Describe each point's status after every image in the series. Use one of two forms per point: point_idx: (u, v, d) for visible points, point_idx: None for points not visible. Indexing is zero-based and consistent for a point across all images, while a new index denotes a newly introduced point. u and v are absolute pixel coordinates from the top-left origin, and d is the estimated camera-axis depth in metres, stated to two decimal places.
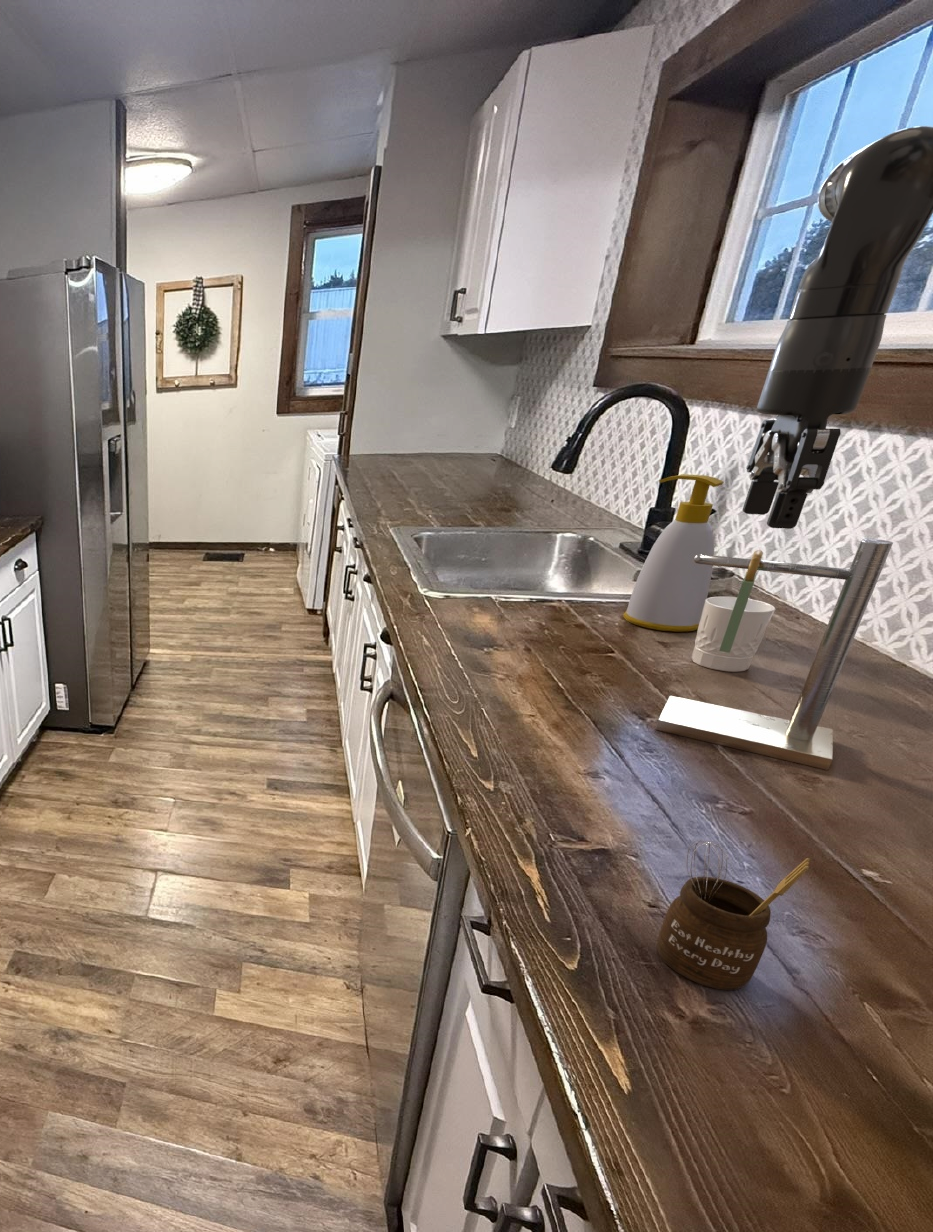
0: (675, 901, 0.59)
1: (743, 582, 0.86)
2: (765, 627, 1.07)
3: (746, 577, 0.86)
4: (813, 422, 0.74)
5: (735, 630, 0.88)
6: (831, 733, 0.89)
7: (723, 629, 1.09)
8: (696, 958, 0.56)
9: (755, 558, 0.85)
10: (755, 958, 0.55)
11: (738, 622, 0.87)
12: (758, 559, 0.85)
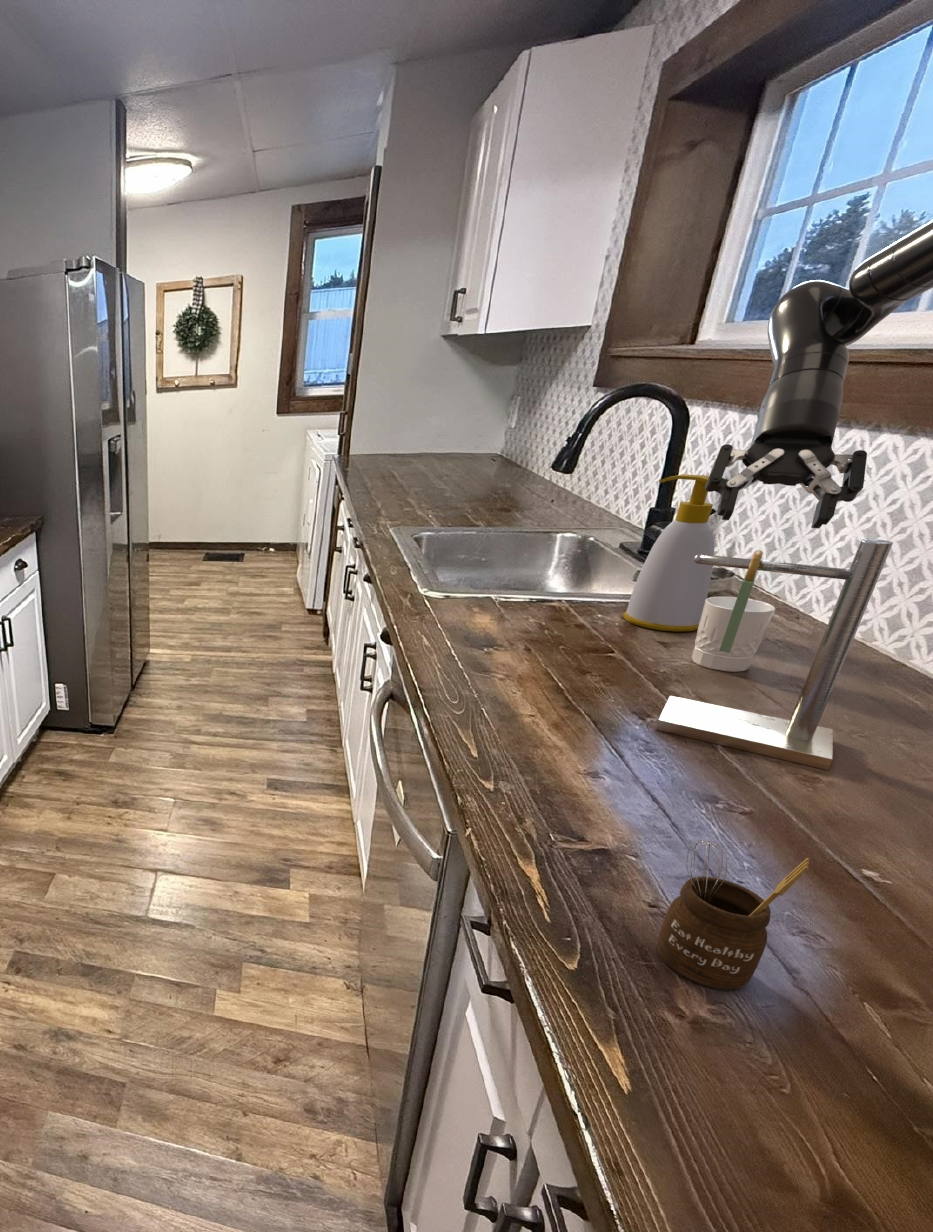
0: (675, 901, 0.59)
1: (743, 582, 0.86)
2: (765, 627, 1.07)
3: (746, 577, 0.86)
4: None
5: (735, 630, 0.88)
6: (831, 733, 0.89)
7: (723, 629, 1.09)
8: (696, 958, 0.56)
9: (755, 558, 0.85)
10: (755, 958, 0.55)
11: (738, 622, 0.87)
12: (758, 559, 0.85)
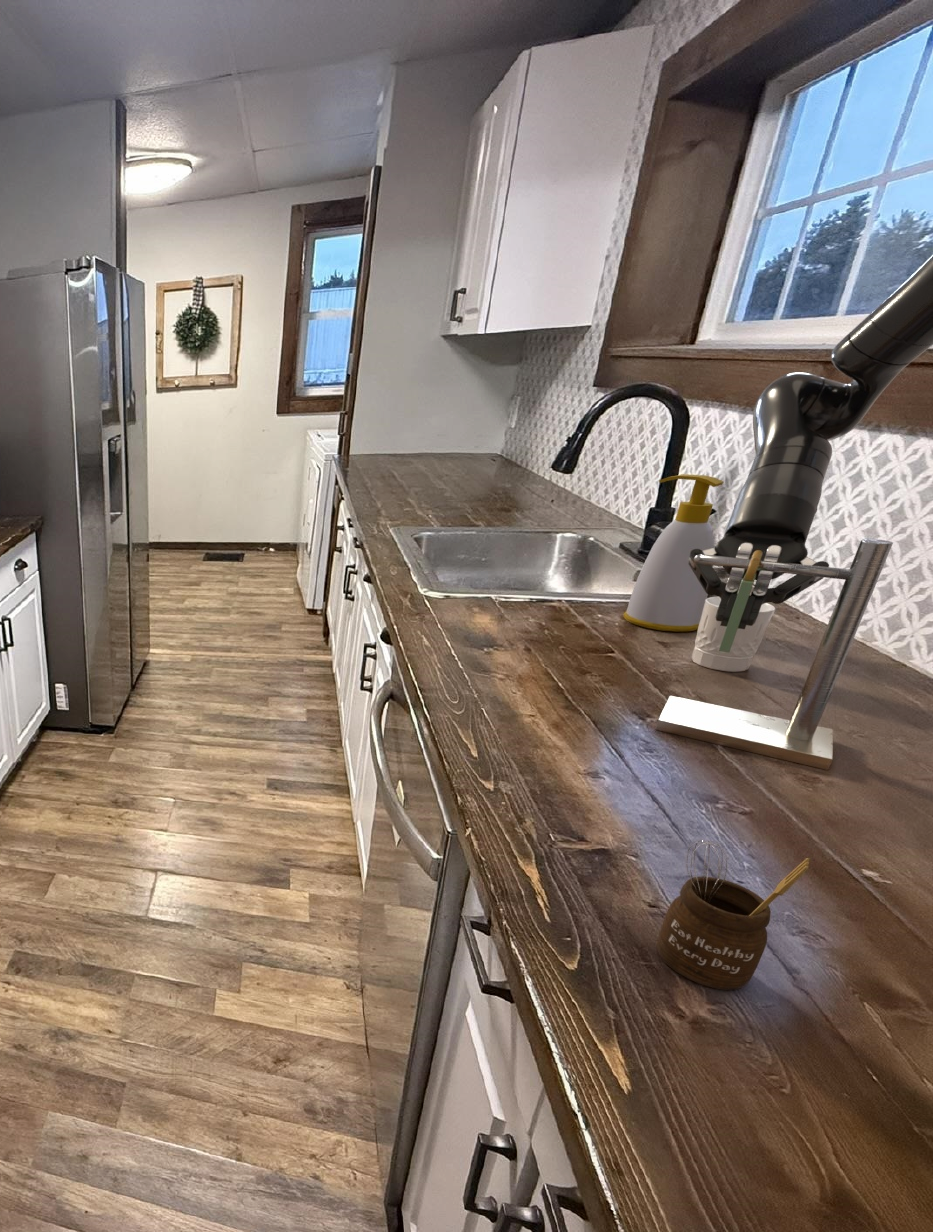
0: (675, 901, 0.59)
1: (743, 582, 0.86)
2: (765, 627, 1.07)
3: (746, 577, 0.86)
4: None
5: (735, 630, 0.88)
6: (831, 733, 0.89)
7: (723, 629, 1.09)
8: (696, 958, 0.56)
9: (755, 558, 0.85)
10: (755, 958, 0.55)
11: (738, 622, 0.87)
12: (758, 559, 0.85)
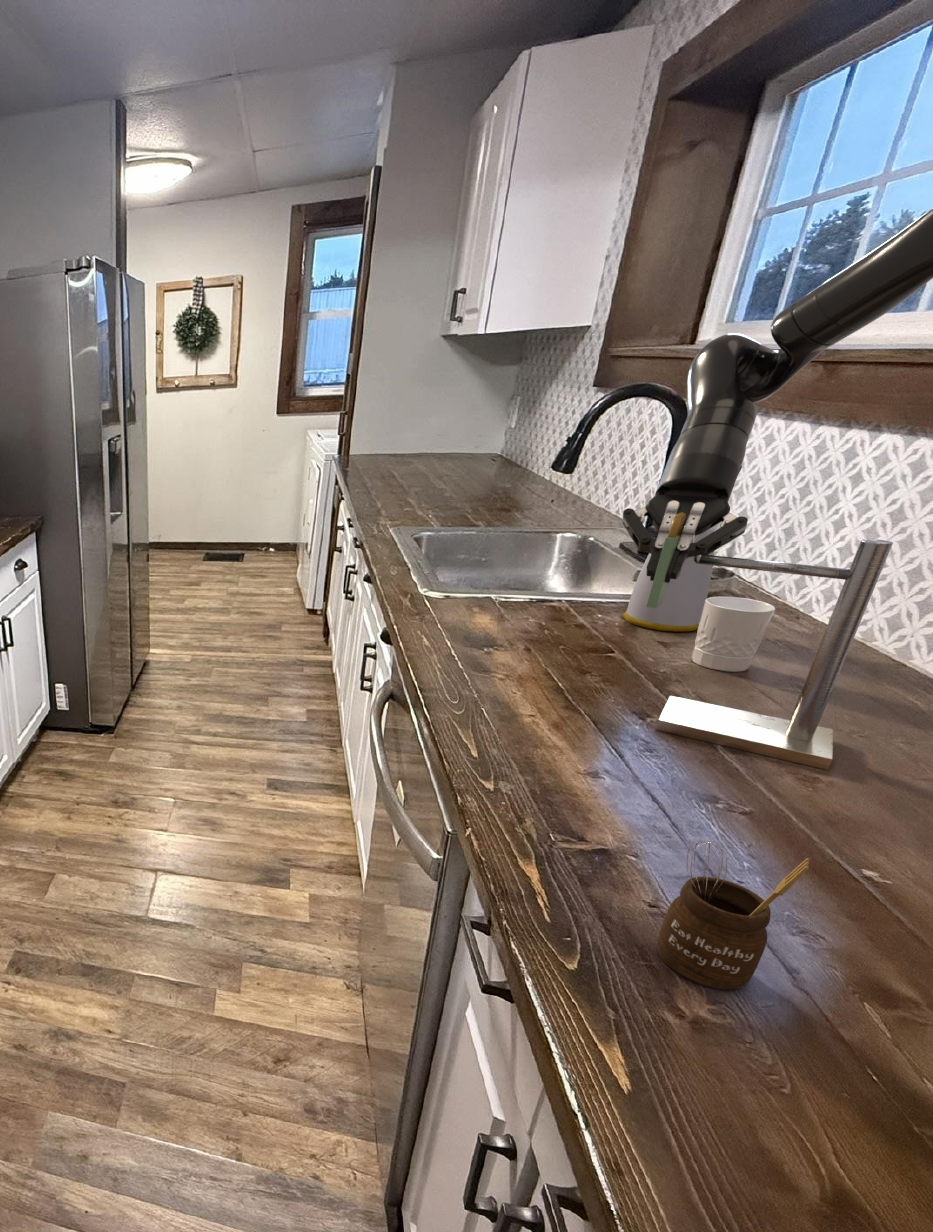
0: (675, 901, 0.59)
1: (666, 538, 0.91)
2: (765, 627, 1.07)
3: (669, 534, 0.91)
4: None
5: (660, 585, 0.92)
6: (831, 733, 0.89)
7: (723, 629, 1.09)
8: (696, 958, 0.56)
9: (677, 515, 0.90)
10: (755, 958, 0.55)
11: (662, 577, 0.92)
12: (679, 516, 0.90)
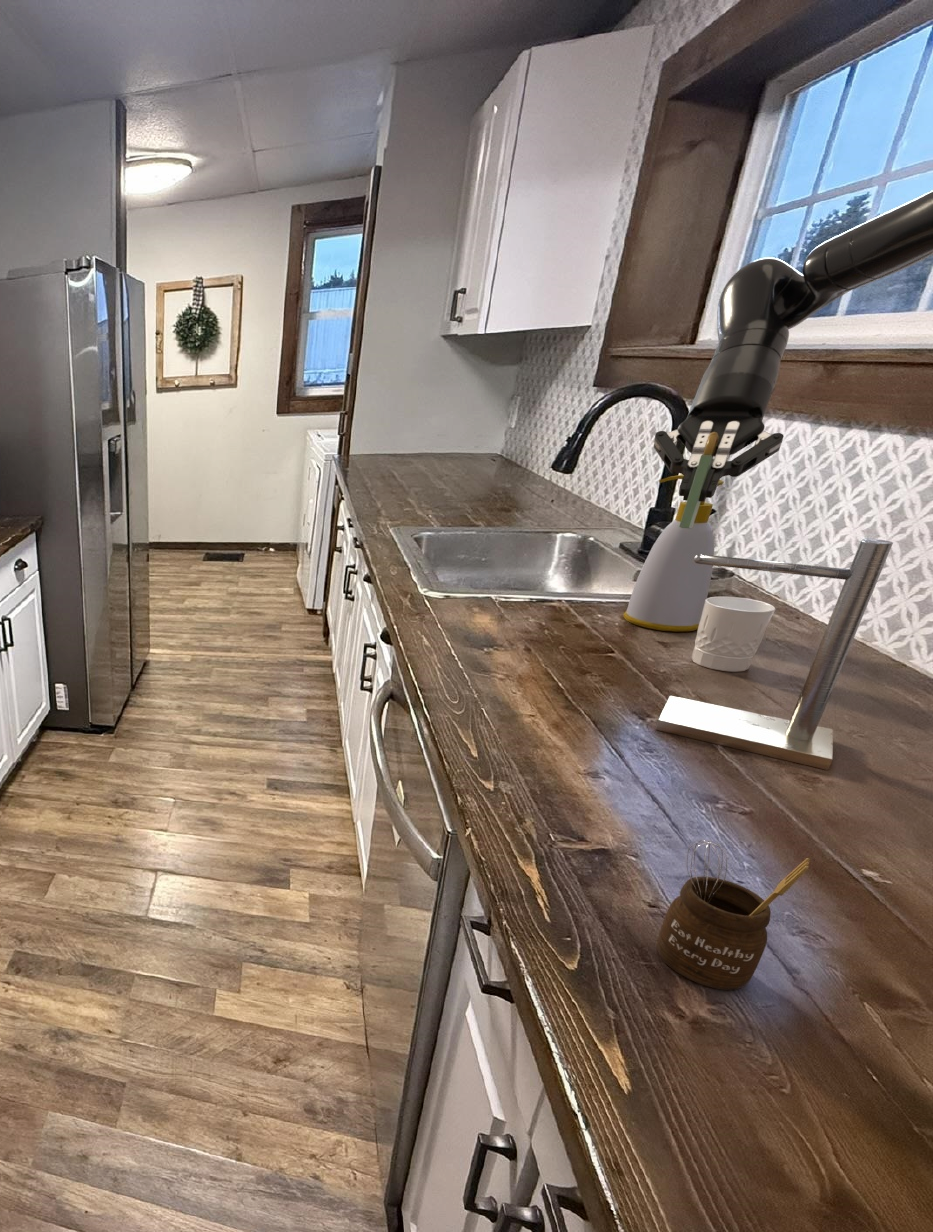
0: (675, 901, 0.59)
1: (702, 456, 0.90)
2: (765, 627, 1.07)
3: (704, 452, 0.91)
4: None
5: (694, 504, 0.91)
6: (831, 733, 0.89)
7: (723, 629, 1.09)
8: (696, 958, 0.56)
9: (713, 433, 0.90)
10: (755, 958, 0.55)
11: (697, 496, 0.91)
12: (715, 433, 0.90)
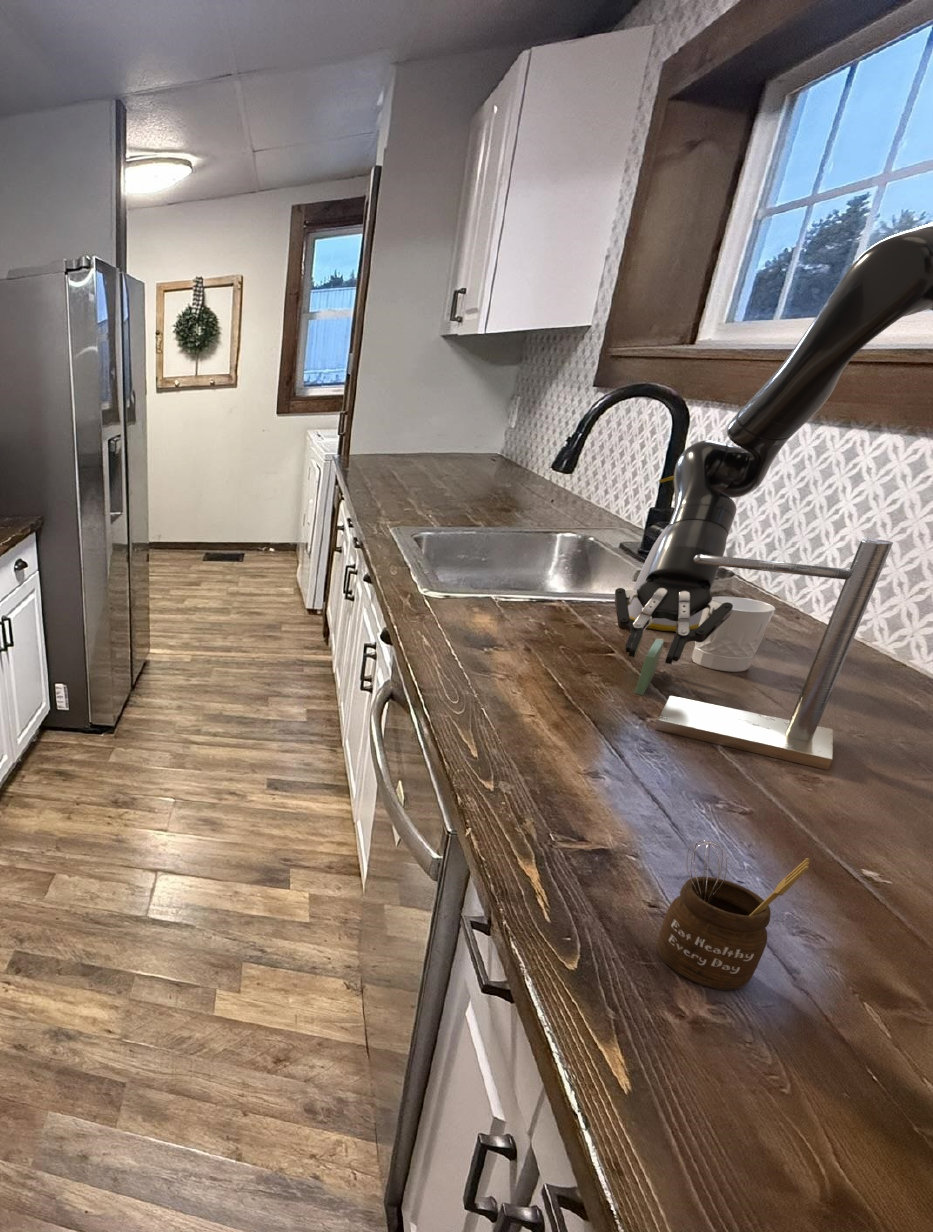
0: (675, 901, 0.59)
1: (656, 639, 1.08)
2: (765, 627, 1.07)
3: None
4: None
5: (656, 651, 1.04)
6: (831, 733, 0.89)
7: (723, 629, 1.09)
8: (696, 958, 0.56)
9: (661, 638, 1.10)
10: (755, 958, 0.55)
11: (657, 649, 1.05)
12: (663, 639, 1.10)
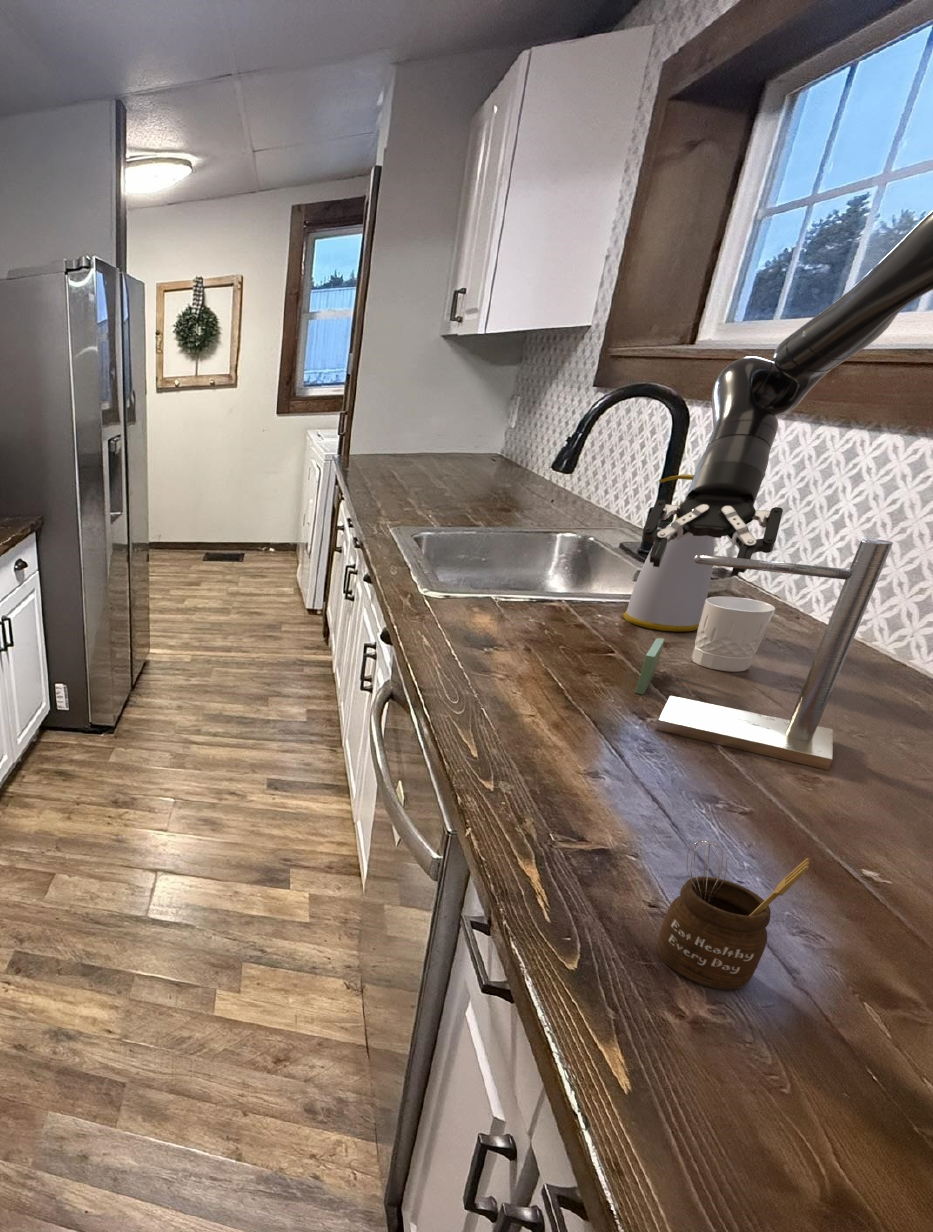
0: (675, 901, 0.59)
1: (656, 639, 1.08)
2: (765, 627, 1.07)
3: None
4: None
5: (656, 650, 1.04)
6: (831, 733, 0.89)
7: (723, 629, 1.09)
8: (696, 958, 0.56)
9: (661, 638, 1.10)
10: (755, 958, 0.55)
11: (658, 648, 1.05)
12: (663, 639, 1.10)
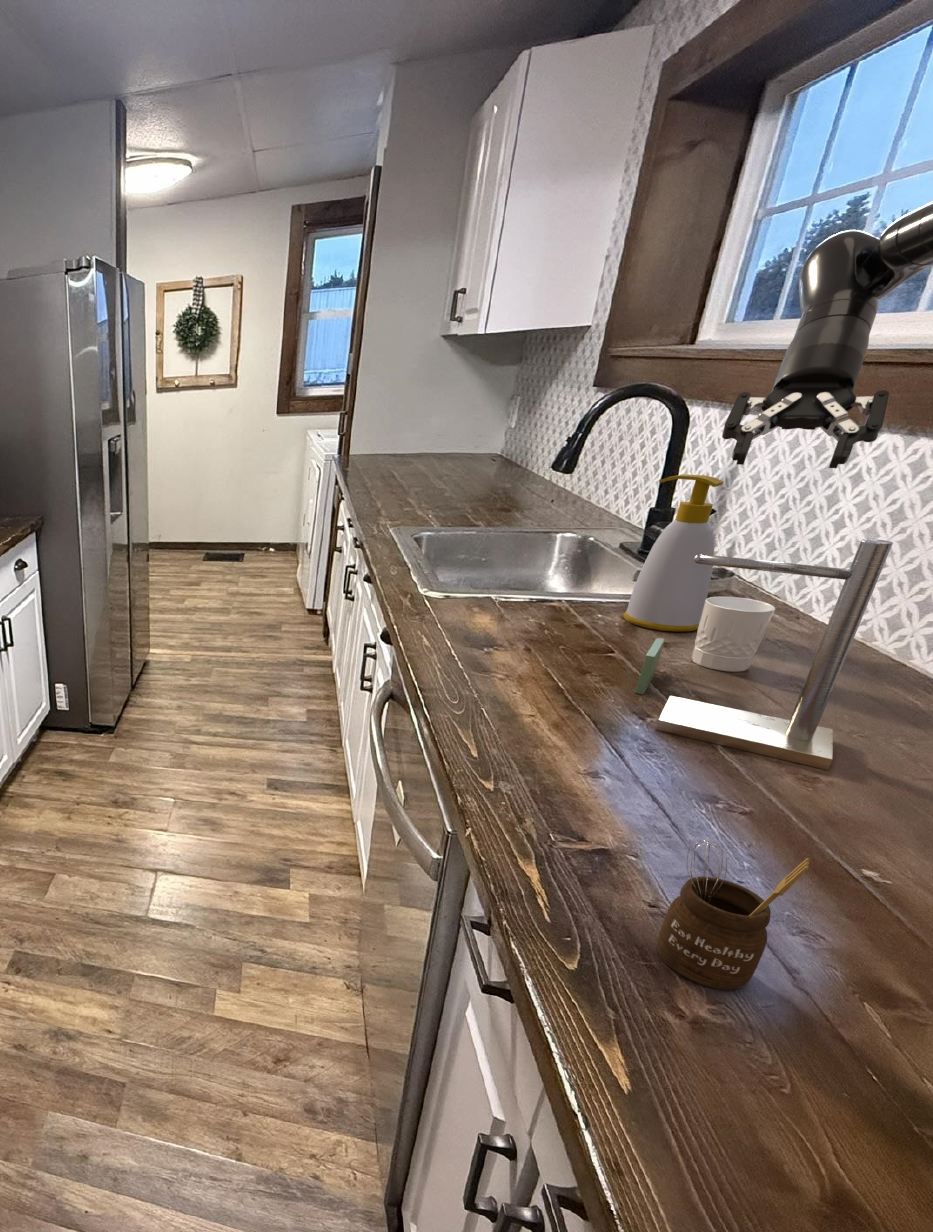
0: (675, 901, 0.59)
1: (656, 639, 1.08)
2: (765, 627, 1.07)
3: None
4: None
5: (656, 650, 1.04)
6: (831, 733, 0.89)
7: (723, 629, 1.09)
8: (696, 958, 0.56)
9: (661, 638, 1.10)
10: (755, 958, 0.55)
11: (658, 648, 1.05)
12: (663, 639, 1.10)
